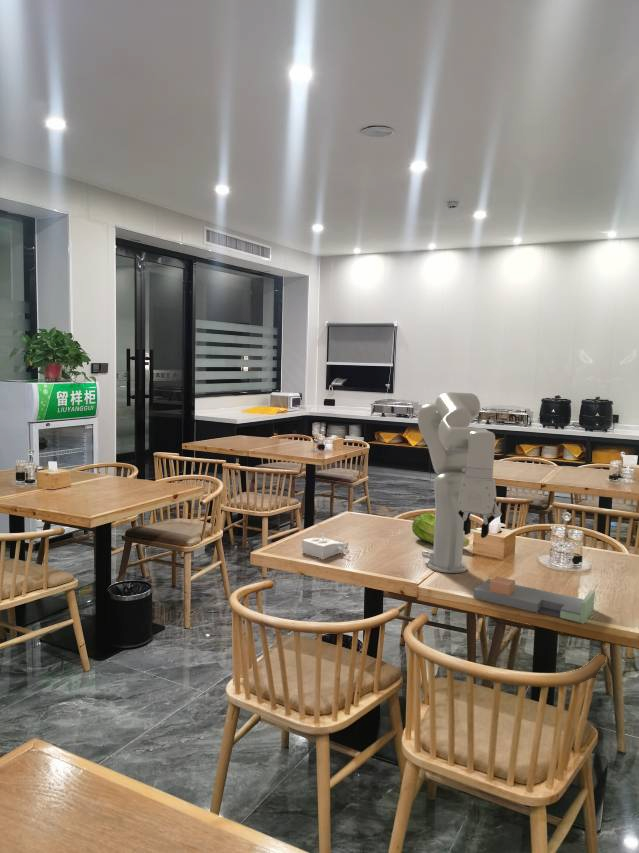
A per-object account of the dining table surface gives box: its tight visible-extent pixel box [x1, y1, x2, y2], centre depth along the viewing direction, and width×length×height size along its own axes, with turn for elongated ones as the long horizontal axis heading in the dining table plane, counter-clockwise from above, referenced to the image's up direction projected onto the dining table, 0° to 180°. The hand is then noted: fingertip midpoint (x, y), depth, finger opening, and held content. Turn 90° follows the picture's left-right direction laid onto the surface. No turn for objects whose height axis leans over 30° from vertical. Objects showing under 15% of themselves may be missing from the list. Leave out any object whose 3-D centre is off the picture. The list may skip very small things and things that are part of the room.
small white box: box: [301, 533, 350, 560], centre depth 223 cm, size 8×20×16 cm
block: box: [489, 576, 516, 596], centre depth 182 cm, size 6×6×3 cm
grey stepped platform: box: [472, 578, 596, 624], centre depth 180 cm, size 30×13×6 cm, turn 56°
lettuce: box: [411, 512, 470, 548], centre depth 239 cm, size 12×24×13 cm
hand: (475, 534), depth 186 cm, fingers open, 4 cm apart
